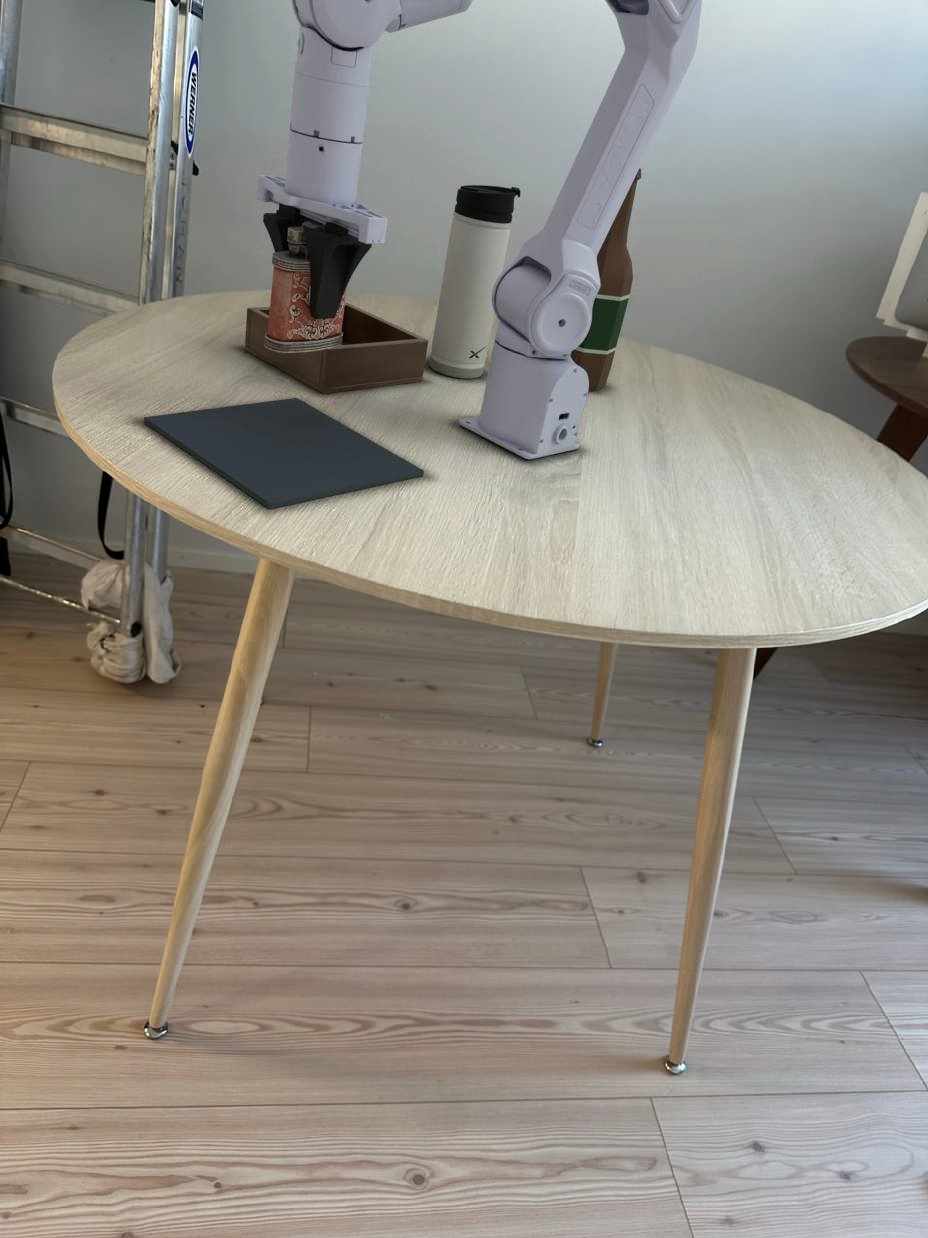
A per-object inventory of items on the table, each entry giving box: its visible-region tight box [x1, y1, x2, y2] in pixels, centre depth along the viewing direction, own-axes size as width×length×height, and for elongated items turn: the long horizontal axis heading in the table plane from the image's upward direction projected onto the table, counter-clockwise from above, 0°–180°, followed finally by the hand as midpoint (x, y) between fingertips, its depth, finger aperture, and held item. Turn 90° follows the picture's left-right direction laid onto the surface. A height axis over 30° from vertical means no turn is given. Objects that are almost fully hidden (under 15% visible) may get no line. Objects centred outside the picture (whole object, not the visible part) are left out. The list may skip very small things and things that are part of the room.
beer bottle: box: [570, 167, 642, 392], centre depth 112 cm, size 8×8×24 cm
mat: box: [143, 397, 425, 510], centre depth 84 cm, size 18×16×1 cm
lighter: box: [264, 221, 348, 353], centre depth 83 cm, size 8×3×10 cm, turn 141°
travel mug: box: [428, 184, 521, 380], centre depth 108 cm, size 6×7×20 cm
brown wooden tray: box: [243, 302, 429, 395], centre depth 105 cm, size 14×14×4 cm
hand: (309, 310), depth 84 cm, fingers closed on lighter, 3 cm apart
